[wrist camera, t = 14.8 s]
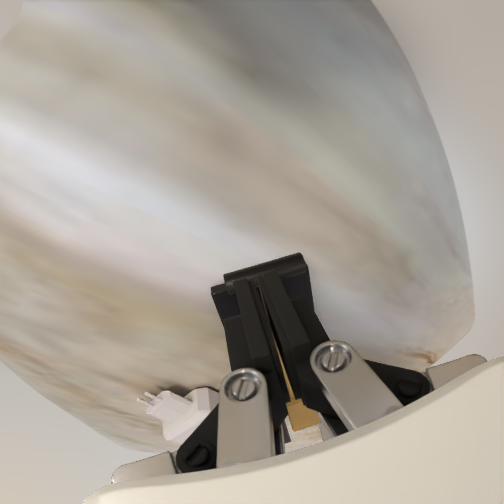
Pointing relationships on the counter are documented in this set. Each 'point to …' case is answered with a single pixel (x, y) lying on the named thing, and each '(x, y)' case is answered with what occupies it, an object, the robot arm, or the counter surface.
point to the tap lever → (285, 269)
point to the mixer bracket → (230, 307)
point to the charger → (181, 411)
